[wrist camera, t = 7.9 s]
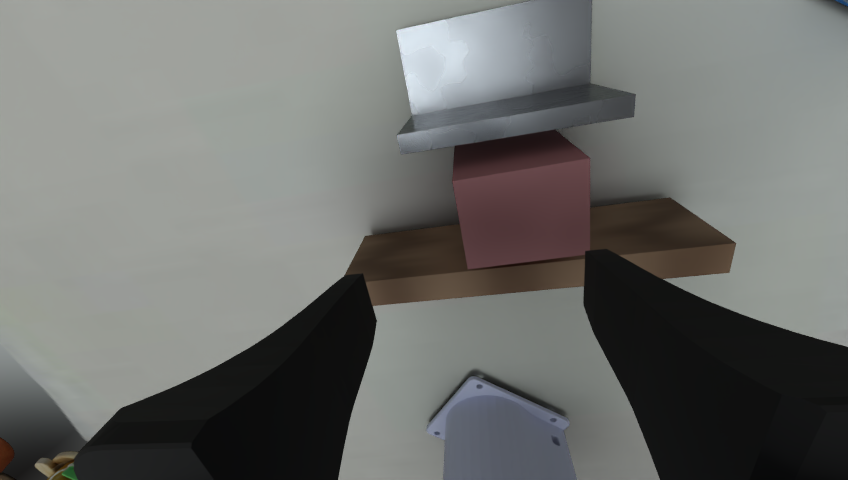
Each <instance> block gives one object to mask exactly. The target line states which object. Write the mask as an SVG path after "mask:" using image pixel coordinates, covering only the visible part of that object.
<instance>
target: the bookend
mask: <svg viewBox="0 0 848 480" xmlns="http://www.w3.org/2000/svg"><path fill="white" fill-rule="evenodd" d="M591 25H592V0H531V1H526V2H522V3H517V4H513V5H508V6H504V7H499V8H495V9H490V10H486V11H481V12H477V13H472V14H468V15H463V16H458V17H454V18H449V19H445V20H440V21H436V22H431V23H427V24H422V25H418V26H413V27H409V28H404V29H400V30H396V32H397V37H398V43H399V48H400V53H401V59H402V64H403V69H404V74H405V80H406V85H407V90H408V96H409V101H410V106H411V112H412V116H411V118H410V119H409V120H408V122H407V123H406V124H405V125H404V127H403V128H402V129H401V130H400V132H399V133H398V134H397V138H398V143H399V148H400V153H401V154H408V153H414V152H420V151H426V150H432V149H438V148H445V147H451V146H457V145H463V144H469V143H475V142H482V141H488V140H494V139H500V138H506V137H512V136H518V135H525V134H531V133H537V132H543V131H549V130H555V129H562V128H568V127H574V126H580V125H586V124H592V123H599V122H605V121H611V120H617V119H623V118H629V117H634V109H635V96H636V94H633V93H629V92H624V91H620V90H616V89H611V88H607V87H603V86H599V85H594V84H590V70H591Z"/></svg>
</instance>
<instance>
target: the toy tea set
mask: <svg viewBox="0 0 848 480" xmlns="http://www.w3.org/2000/svg"><path fill="white" fill-rule="evenodd" d="M77 454H78V452H74V451H68V452H62V453H60V454H58V455H57V456H56V457H55V458H54V459H53V460H50V459H48V458H41V459H39V460H38V462H37V463H36V464H35V467H36V468H37V469H38V470H39V471H41V472H42V473H43V474H45V475H46V476H48V477H49V478H48V479H47V480H78V479H77V477H76V474H75V472H74V458H75V456H76V455H77ZM13 458H14V450H13V448H12V447H11V446H10V445H9V443H7V442H6V441H5V440H4V439H2V438H0V480H16V479H14V478H13V477H11V476H9V475H7V474H5V473H2V471H3V470H4V469H5V468H6V466H7V465H8V464H9V463H10V461H12V459H13Z"/></svg>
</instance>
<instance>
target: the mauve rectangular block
mask: <svg viewBox="0 0 848 480" xmlns="http://www.w3.org/2000/svg"><path fill="white" fill-rule="evenodd" d="M452 182H453V188H454V194H455V199H456V205H457V211H458V216H459V222H460V228H461V233H462V239H463V245H464V251H465V256H466V262H467V268H468V269H475V268H483V267H491V266H499V265H507V264H515V263H523V262H531V261H539V260H547V259H555V258H563V257H572V256H580V255H585V251H589V250H590V158H589V157H588V156H587V155H586V154H584V153H583V152H582V151H581V150H579V149H578V148H577V147H576V146H574V145H573V144H572V143H571V142H569V141H568V140H567V139H566V138H564V137H563V136H562V135H561V134H560V133H558V132H557V131H556V130H549V131H543V132H537V133H531V134H525V135H518V136H512V137H506V138H500V139H494V140H488V141H482V142H475V143H469V144H463V145H457V146H455V149H454V164H453V180H452Z"/></svg>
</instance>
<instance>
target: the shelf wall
mask: <svg viewBox="0 0 848 480" xmlns="http://www.w3.org/2000/svg"><path fill="white" fill-rule="evenodd" d="M735 246H736V243H735V242H734V241H732V240H731V239H729V238H728V237H727V236H725V235H724V234H722V233H721V232H719V231H718V230H716V229H715V228H713V227H712V226H711V225H709V224H708V223H706V222H705V221H703V220H702V219H700V218H699V217H698V216H696V215H695V214H693V213H692V212H690V211H689V210H687V209H686V208H684V207H683V206H682V205H680V204H679V203H677V202H676V201H674V200H673V199H671V198H662V199H654V200H646V201H638V202H630V203H622V204H615V205H607V206H599V207H591V208H590V250H599V249H608V250H610V251H612V252H614V253H616V254H618V255H619V256H621V257H623V258H625V259H626V260H628V261H630V262H632V263H634V264H635V265H637V266H639V267H641V268H642V269H644V270H646V271H648V272H650V273H652V274H653V275H655V276H657V277H659V278H661V279H666V278H677V277H688V276H698V275H709V274H720V273H729V272H730V268H731V263H732V259H733V255H734V250H735ZM361 273H363V275H364V279H365V282H366V285H367V289H368V292H369V296H370V299H371V303H372V306H376V305H387V304H397V303H408V302H419V301H430V300H440V299H451V298H462V297H473V296H483V295H494V294H505V293H516V292H526V291H537V290H548V289H559V288H569V287H580V286H584V273H585V255H580V256H572V257H563V258H555V259H547V260H539V261H531V262H523V263H515V264H507V265H499V266H491V267H483V268H475V269H468V268H467V262H466V256H465V251H464V245H463V239H462V233H461V228H460V224H456V225H448V226H441V227H433V228H425V229H417V230H409V231H401V232H393V233H385V234H377V235H369V236H365V237H364V239H363V241H362V243H361V245H360V247H359V249H358V251H357V253H356V254H355V256H354V258H353V260H352V262H351V264H350V266H349V268H348V270H347V272H346V274H345V275H351V274H361ZM345 275H344V276H345Z"/></svg>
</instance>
